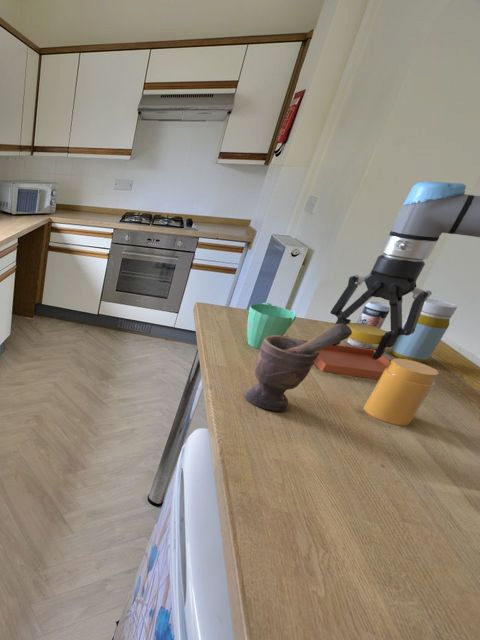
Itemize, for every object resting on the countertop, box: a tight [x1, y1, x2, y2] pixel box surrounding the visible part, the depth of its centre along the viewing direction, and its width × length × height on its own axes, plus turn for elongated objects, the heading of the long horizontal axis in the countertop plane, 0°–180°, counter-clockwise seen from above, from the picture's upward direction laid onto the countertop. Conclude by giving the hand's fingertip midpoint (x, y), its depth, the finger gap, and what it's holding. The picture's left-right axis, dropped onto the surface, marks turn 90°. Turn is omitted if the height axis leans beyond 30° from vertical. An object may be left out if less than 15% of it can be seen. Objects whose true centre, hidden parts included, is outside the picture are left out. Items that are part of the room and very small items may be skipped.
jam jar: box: [363, 358, 439, 426], centre depth 78 cm, size 7×7×11 cm
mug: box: [246, 302, 297, 350], centre depth 108 cm, size 15×10×10 cm
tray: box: [299, 339, 391, 381], centre depth 100 cm, size 17×14×2 cm
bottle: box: [390, 298, 458, 364], centre depth 102 cm, size 7×7×15 cm
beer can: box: [347, 301, 390, 349], centre depth 108 cm, size 5×5×12 cm
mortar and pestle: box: [244, 323, 352, 413], centre depth 77 cm, size 12×9×20 cm
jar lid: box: [346, 322, 388, 345], centre depth 97 cm, size 8×8×2 cm
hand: (355, 350), depth 99 cm, fingers closed on jar lid, 7 cm apart
